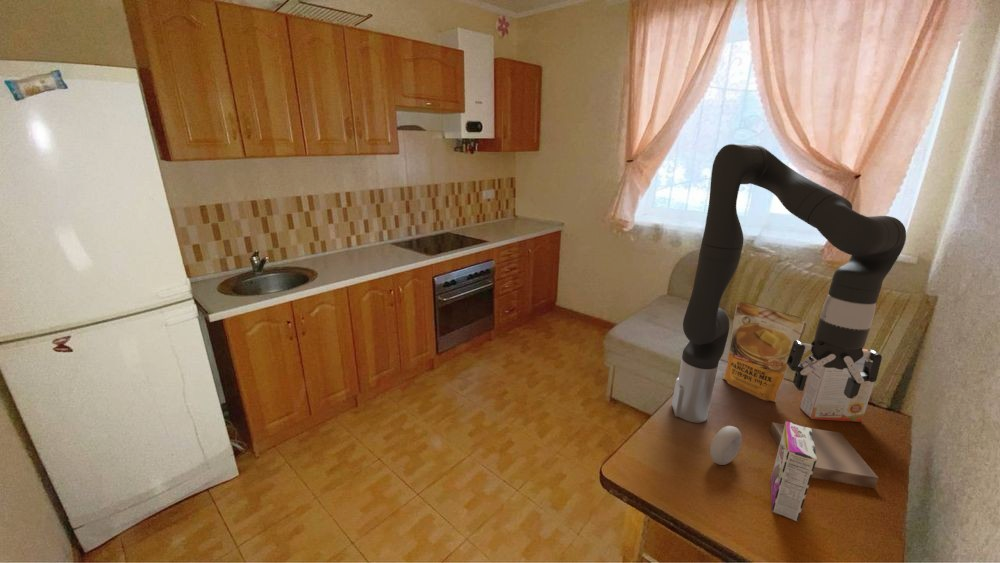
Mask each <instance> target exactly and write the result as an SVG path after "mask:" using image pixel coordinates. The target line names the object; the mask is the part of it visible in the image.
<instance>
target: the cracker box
mask: <svg viewBox="0 0 1000 563" xmlns="http://www.w3.org/2000/svg"><path fill="white" fill-rule="evenodd" d="M862 350H864V351H868V350H869V349H867V348H862ZM882 360H883V359H882ZM882 360H881V362H882ZM815 361H817V360H816V359H815V360H814V361H813V362H815ZM864 363H865V360H864V359H863V357H862V358H861V359H860V360H858V361H857V362H855V363H854V364H855V365H856V367H857V368H858V370H859V372H860V373H861V372H862V371H863V367H864ZM848 377H850V378H851V375H850V374H849V372H848V371H847V369H846V368H845V369H843V370H840V369H836V368H826V367H823V366H821V367H820V368H818V369H817V370H812V371H811V372H809V373H808V375H807V379H806V383H805V386H804V390H803V393H802V398H801V403H800V406H799V408H800V410H802V412H804V414H805V415H806V416H808V418H810V419H811V420H821V421H824V420H825V421H838V422H855V423H856V422H857V423H862V422H863V419H864V416H865V412H866V410H867V408H868V403H869V400H870V397H871V394H872V392H873V389H874V386H875V383H876V381H875V382H870V381H865V382H863V383H861V386H860V389H859V392H858V395H857V396H854V398H853V399H851V398H847V397H846V395H845V394H844V390H845V386H846V383H847V380H848Z"/></svg>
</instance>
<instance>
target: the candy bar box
mask: <svg viewBox="0 0 1000 563" xmlns="http://www.w3.org/2000/svg"><path fill="white" fill-rule="evenodd" d="M784 424H785V426H784V430H783V434H782V437H781V441H780V445H779V446H778V449H777V455H776V457H775V462H774V464H773V468H772V472H771V476H770V490H771V493H770V494H771V513H774V514H776V515H779V516H781V517H783V518H787V519H788V520H792V521H794V522H799V521H800V516H801V513H802V510H803V507H804V503H805V500H806V497H807V493H808V491H809V487H810V483H811V480H812V478H813V477H812V474H813V470H814V467H815V464H816V461H817V457H816V451H815V445H814V440H813V434H812V429H811V428H812V427H807V426H804V425H802V424H797V423H794V422H791V421H785V423H784Z"/></svg>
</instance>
